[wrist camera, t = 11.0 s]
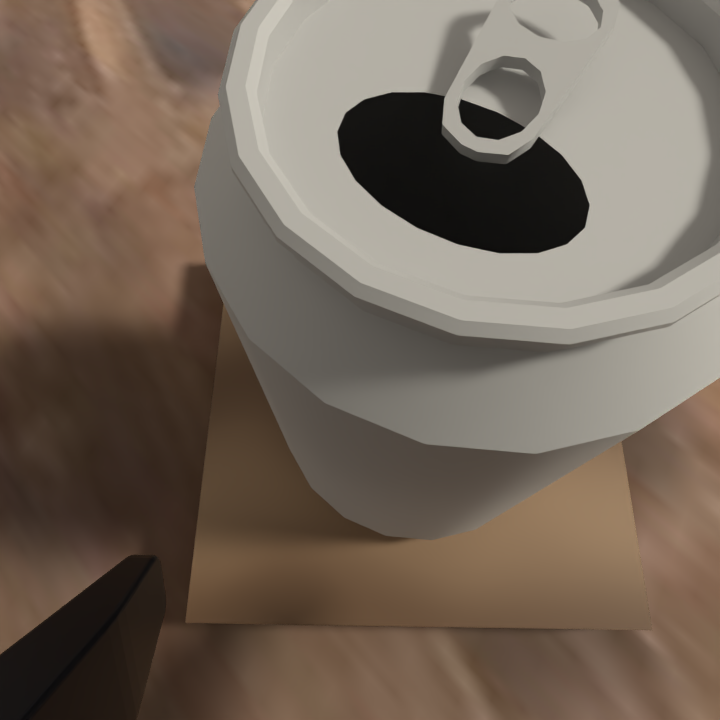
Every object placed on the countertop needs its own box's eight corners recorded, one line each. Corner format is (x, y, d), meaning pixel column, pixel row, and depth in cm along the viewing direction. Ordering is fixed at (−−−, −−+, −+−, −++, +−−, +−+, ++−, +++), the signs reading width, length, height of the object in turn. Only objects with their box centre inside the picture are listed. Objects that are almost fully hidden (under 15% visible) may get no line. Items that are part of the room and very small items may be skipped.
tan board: (619, 627, 17) (652, 630, 15) (204, 620, 17) (184, 622, 15) (567, 268, 21) (587, 237, 19) (242, 264, 21) (232, 232, 19)
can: (235, 450, 17) (-15, 145, 5) (372, 261, 19) (391, -212, 8) (465, 600, 15) (766, 600, 4) (582, 374, 17) (968, -19, 6)
